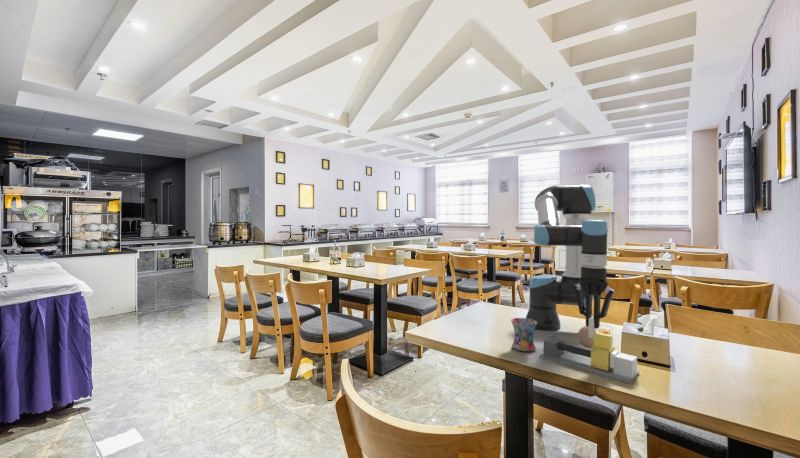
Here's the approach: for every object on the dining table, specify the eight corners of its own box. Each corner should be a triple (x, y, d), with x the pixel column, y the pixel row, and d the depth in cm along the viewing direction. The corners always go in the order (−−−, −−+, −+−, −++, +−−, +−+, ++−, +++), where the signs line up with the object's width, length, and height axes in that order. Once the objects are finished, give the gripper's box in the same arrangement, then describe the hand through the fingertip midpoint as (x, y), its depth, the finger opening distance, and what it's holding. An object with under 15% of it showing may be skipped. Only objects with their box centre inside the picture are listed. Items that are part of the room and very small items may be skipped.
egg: (597, 346, 139) (597, 324, 139) (599, 352, 132) (599, 329, 132) (576, 343, 142) (577, 322, 142) (577, 349, 135) (577, 327, 135)
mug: (530, 355, 129) (530, 326, 129) (506, 349, 136) (506, 321, 135) (543, 347, 138) (544, 319, 137) (521, 341, 144) (521, 315, 144)
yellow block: (597, 360, 121) (598, 330, 120) (614, 365, 117) (614, 333, 117) (590, 366, 116) (591, 334, 116) (607, 370, 113) (608, 338, 112)
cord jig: (551, 350, 134) (552, 332, 134) (639, 374, 114) (639, 353, 113) (539, 357, 127) (539, 338, 127) (629, 383, 107) (630, 361, 107)
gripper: (568, 265, 121) (567, 334, 121) (611, 269, 111) (610, 344, 112) (577, 263, 126) (576, 330, 126) (619, 267, 116) (618, 339, 117)
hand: (592, 336), depth 119 cm, fingers closed
